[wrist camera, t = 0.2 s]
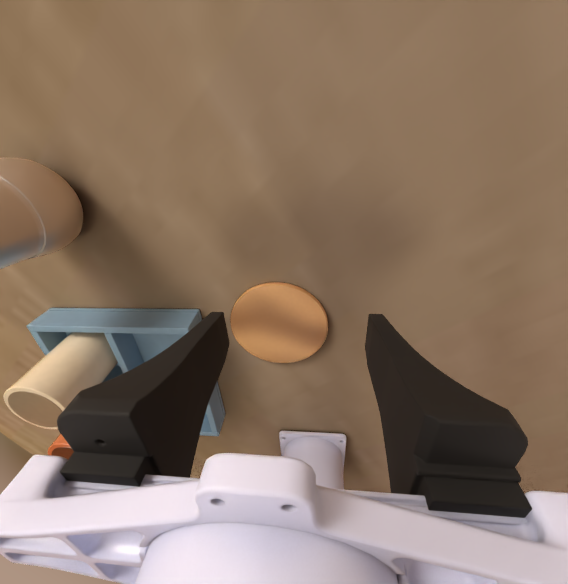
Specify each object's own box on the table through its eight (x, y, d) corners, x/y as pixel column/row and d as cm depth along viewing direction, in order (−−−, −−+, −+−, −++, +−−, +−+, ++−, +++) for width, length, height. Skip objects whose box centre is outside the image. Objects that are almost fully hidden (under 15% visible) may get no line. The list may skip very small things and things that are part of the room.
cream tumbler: (132, 362, 31) (80, 431, 24) (87, 360, 32) (24, 428, 25) (114, 322, 28) (50, 389, 22) (66, 322, 29) (-12, 386, 22)
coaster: (326, 360, 29) (327, 364, 29) (238, 358, 30) (237, 361, 30) (329, 281, 24) (329, 284, 24) (224, 282, 25) (222, 284, 25)
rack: (225, 413, 35) (218, 436, 33) (107, 408, 37) (92, 429, 34) (199, 308, 27) (187, 328, 25) (50, 307, 29) (25, 325, 26)
